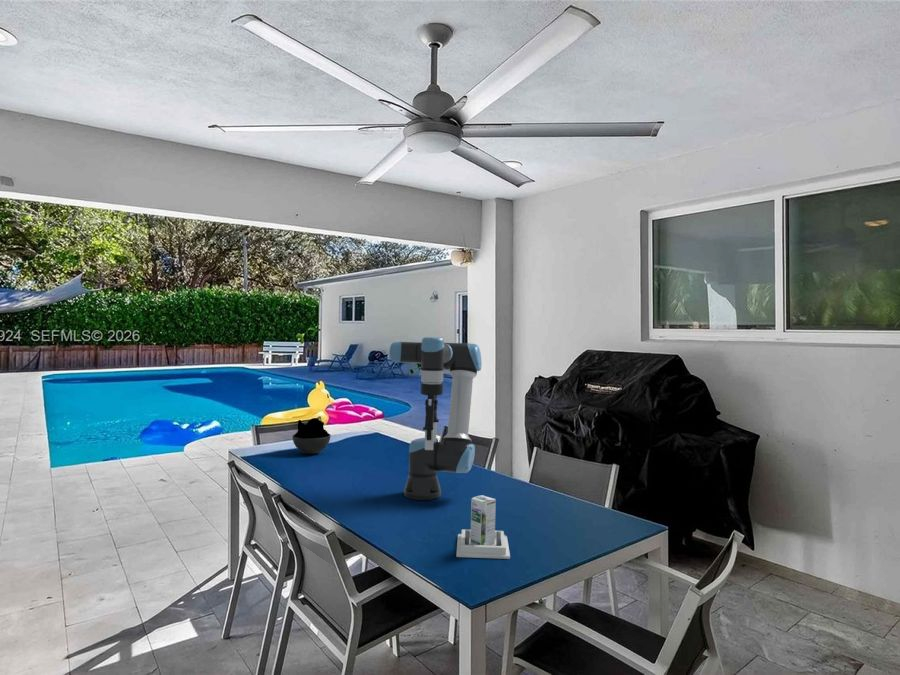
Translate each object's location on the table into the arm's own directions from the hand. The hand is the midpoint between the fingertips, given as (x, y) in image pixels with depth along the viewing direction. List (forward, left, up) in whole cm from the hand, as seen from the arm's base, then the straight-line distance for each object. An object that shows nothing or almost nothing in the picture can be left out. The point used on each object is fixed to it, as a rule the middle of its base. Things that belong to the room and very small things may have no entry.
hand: (430, 445), depth 180 cm
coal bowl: (-104, -73, -29) cm, 130 cm away
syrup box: (+13, +18, -28) cm, 36 cm away
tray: (+13, +18, -29) cm, 36 cm away
